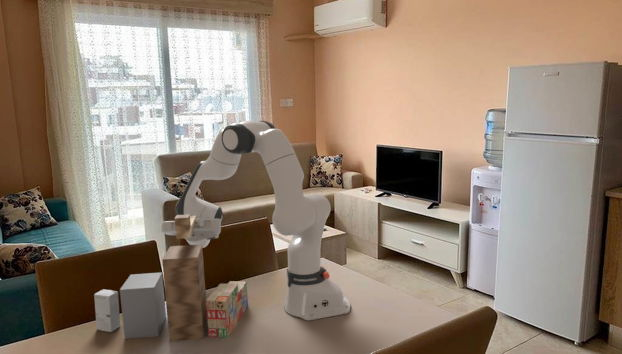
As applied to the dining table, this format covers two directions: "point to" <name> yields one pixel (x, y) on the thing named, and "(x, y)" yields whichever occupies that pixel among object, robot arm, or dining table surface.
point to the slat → (184, 226)
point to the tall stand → (185, 292)
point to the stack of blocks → (226, 308)
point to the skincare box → (107, 310)
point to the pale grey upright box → (143, 305)
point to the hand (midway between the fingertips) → (188, 221)
